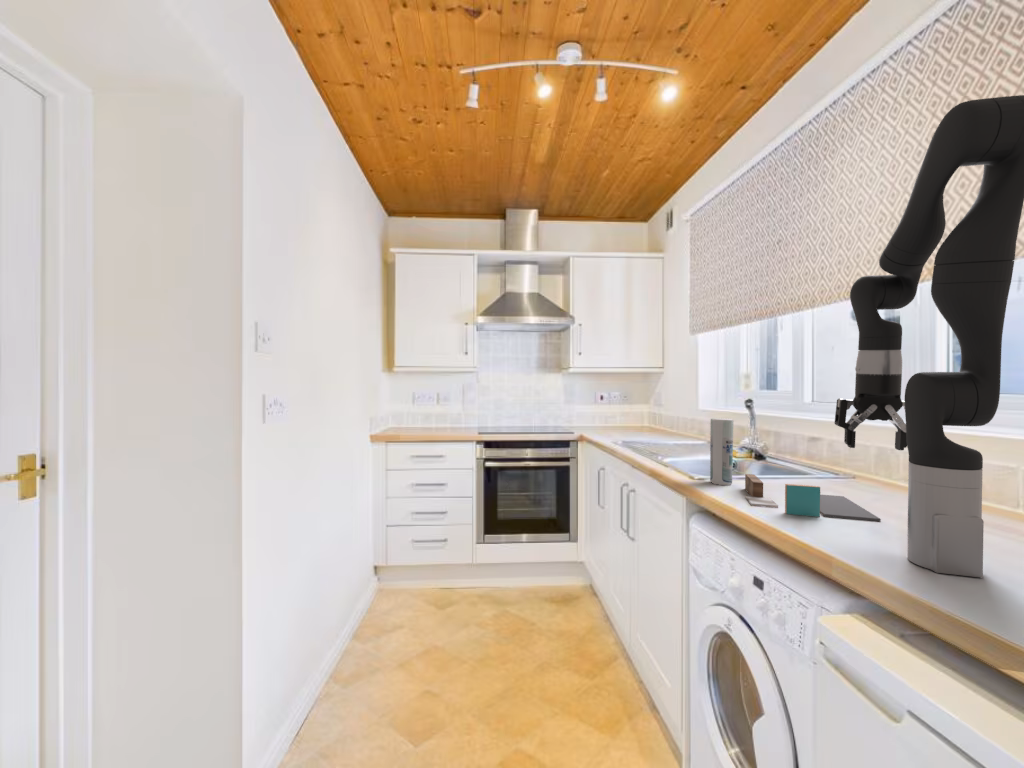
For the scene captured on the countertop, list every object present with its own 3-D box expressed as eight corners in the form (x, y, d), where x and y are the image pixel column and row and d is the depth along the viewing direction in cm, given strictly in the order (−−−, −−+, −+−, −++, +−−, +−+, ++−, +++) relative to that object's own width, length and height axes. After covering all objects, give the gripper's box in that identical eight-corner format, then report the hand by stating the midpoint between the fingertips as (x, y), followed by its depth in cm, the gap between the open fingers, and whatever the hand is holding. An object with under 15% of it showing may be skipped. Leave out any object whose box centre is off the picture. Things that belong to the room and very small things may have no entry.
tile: (820, 517, 107) (820, 487, 107) (786, 514, 109) (786, 484, 109) (818, 515, 108) (818, 486, 108) (784, 512, 110) (785, 483, 110)
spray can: (715, 480, 147) (715, 417, 147) (736, 483, 142) (736, 419, 142) (706, 482, 142) (706, 418, 142) (727, 486, 138) (728, 420, 138)
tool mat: (880, 521, 104) (880, 518, 104) (824, 516, 107) (824, 514, 107) (843, 498, 125) (843, 496, 125) (797, 494, 128) (797, 492, 128)
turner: (738, 488, 135) (738, 473, 135) (761, 490, 133) (761, 474, 133) (751, 505, 116) (751, 488, 116) (778, 507, 114) (778, 490, 114)
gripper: (845, 372, 94) (842, 450, 95) (930, 372, 90) (926, 454, 91) (832, 371, 101) (829, 443, 102) (910, 371, 97) (906, 446, 98)
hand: (874, 448), depth 97 cm, fingers open, 8 cm apart
